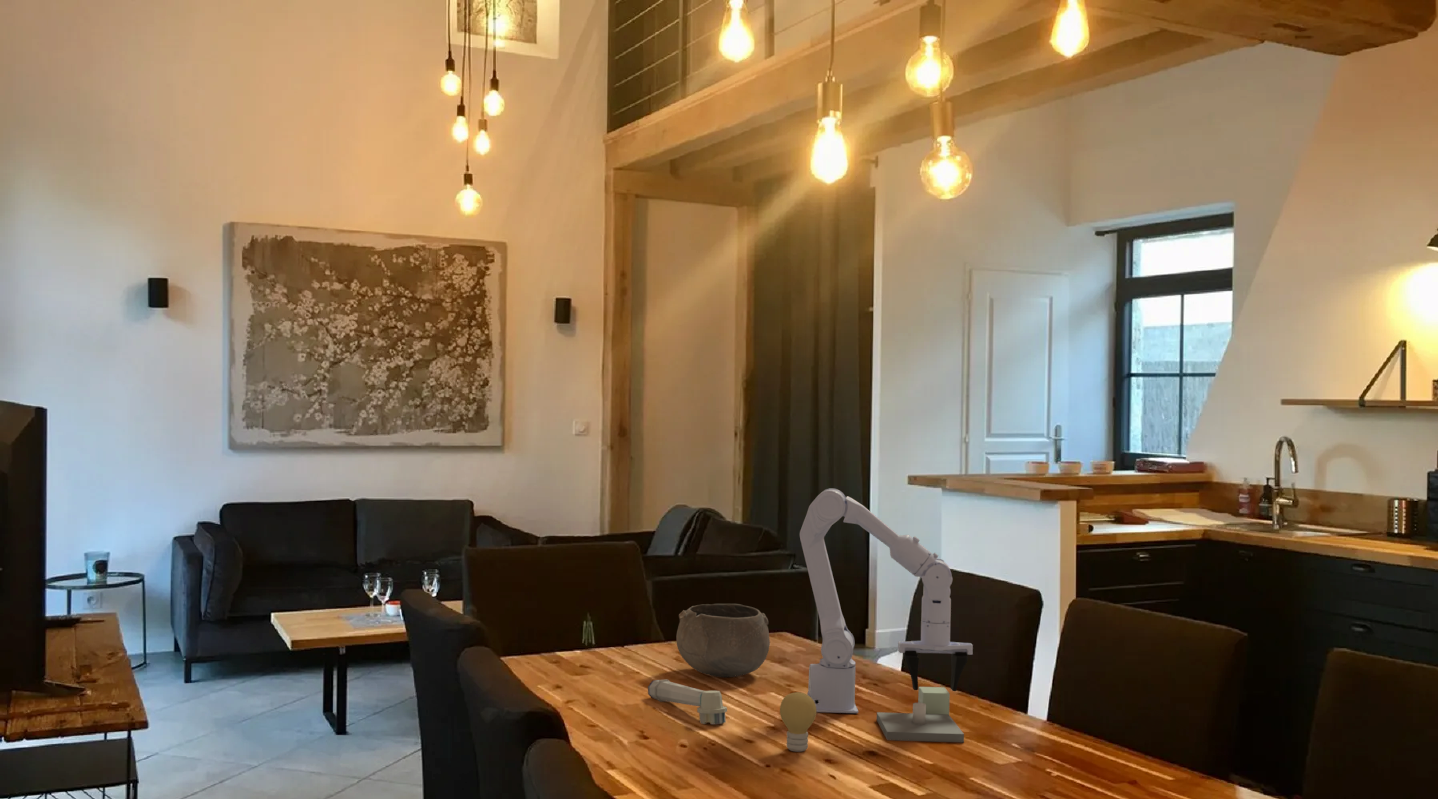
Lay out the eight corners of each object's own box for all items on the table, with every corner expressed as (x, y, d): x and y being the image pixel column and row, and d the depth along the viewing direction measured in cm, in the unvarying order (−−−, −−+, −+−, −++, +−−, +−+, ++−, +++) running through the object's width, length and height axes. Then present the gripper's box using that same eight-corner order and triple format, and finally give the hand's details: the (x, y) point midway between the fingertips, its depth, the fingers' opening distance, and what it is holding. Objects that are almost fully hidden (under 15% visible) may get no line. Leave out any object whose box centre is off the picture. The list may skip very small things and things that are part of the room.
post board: (887, 740, 209) (887, 712, 209) (876, 720, 223) (877, 694, 223) (963, 742, 209) (964, 714, 209) (948, 722, 223) (949, 696, 223)
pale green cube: (922, 718, 226) (923, 692, 226) (918, 711, 231) (918, 686, 231) (949, 719, 226) (949, 693, 226) (943, 712, 231) (944, 687, 231)
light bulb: (820, 754, 199) (822, 696, 199) (786, 756, 197) (787, 697, 197) (807, 744, 205) (809, 687, 205) (773, 745, 203) (775, 689, 204)
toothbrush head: (666, 677, 238) (731, 686, 218) (667, 710, 238) (733, 722, 217) (644, 679, 236) (708, 688, 215) (645, 713, 235) (709, 725, 214)
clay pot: (785, 673, 262) (786, 607, 263) (737, 690, 245) (739, 619, 245) (707, 660, 274) (709, 597, 274) (657, 676, 256) (659, 608, 256)
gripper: (902, 623, 225) (901, 693, 224) (976, 625, 225) (975, 695, 224) (897, 617, 232) (895, 685, 231) (968, 619, 232) (967, 686, 231)
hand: (934, 689), depth 228 cm, fingers open, 7 cm apart
